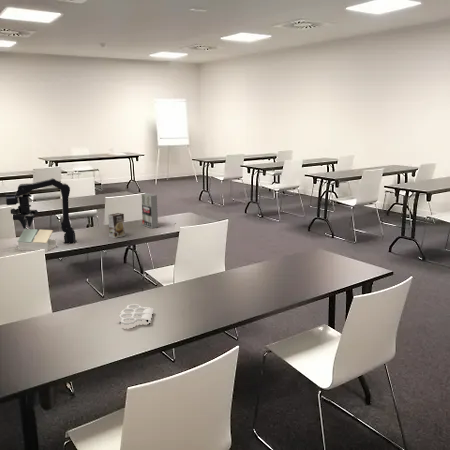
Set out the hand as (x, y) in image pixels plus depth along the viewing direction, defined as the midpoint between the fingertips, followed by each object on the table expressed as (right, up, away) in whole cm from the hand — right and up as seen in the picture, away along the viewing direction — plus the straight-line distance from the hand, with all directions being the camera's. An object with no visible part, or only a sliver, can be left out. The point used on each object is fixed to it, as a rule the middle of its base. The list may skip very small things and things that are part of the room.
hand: (27, 227), depth 285 cm
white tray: (+7, -13, +1) cm, 15 cm away
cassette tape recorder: (+70, 0, +57) cm, 90 cm away
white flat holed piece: (+90, -38, -100) cm, 140 cm away
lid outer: (+1, -5, -1) cm, 6 cm away
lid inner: (+12, -6, -3) cm, 13 cm away
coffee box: (+51, -7, +29) cm, 59 cm away
